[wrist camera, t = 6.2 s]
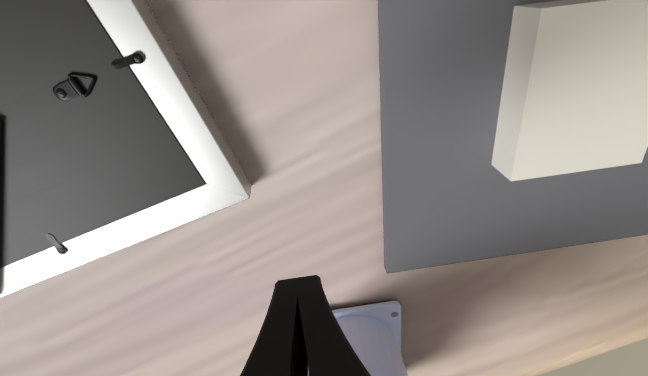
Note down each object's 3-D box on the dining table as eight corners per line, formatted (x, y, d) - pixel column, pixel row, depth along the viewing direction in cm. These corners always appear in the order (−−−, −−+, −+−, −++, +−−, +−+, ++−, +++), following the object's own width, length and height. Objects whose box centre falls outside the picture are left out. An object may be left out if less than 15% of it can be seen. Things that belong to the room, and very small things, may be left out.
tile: (491, 164, 20) (611, 147, 21) (510, 181, 19) (641, 162, 19) (514, 5, 16) (662, -13, 17) (541, 8, 15) (707, -13, 15)
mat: (643, 228, 25) (651, 233, 24) (384, 267, 24) (386, 273, 24) (838, -237, 14) (859, -246, 13) (373, -190, 13) (376, -197, 13)
